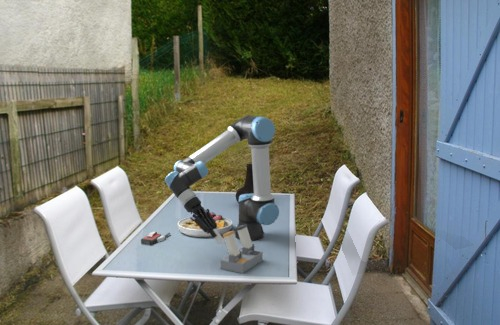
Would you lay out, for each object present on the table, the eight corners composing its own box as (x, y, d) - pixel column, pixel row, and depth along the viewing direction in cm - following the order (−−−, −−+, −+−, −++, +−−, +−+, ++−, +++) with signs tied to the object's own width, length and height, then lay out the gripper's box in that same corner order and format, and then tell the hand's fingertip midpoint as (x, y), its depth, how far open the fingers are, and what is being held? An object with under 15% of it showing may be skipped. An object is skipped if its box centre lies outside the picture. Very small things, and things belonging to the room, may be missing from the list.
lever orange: (230, 260, 231) (222, 234, 231) (236, 257, 236) (228, 231, 236) (235, 259, 230) (227, 233, 230) (241, 256, 234) (233, 230, 234)
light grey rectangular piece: (243, 253, 241) (235, 228, 242) (249, 249, 246) (241, 225, 246) (248, 252, 240) (241, 226, 240) (254, 248, 245) (246, 224, 245)
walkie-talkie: (154, 247, 264) (171, 235, 283) (154, 238, 263) (171, 227, 282) (139, 245, 266) (156, 234, 285) (138, 236, 266) (156, 226, 285)
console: (220, 268, 233) (220, 253, 232) (241, 256, 250) (241, 242, 249) (242, 273, 228) (242, 257, 227) (262, 260, 245) (262, 245, 244)
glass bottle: (232, 207, 347) (232, 165, 343) (240, 201, 364) (240, 161, 360) (258, 209, 342) (258, 166, 337) (265, 203, 359) (266, 162, 354)
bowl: (224, 241, 275) (224, 226, 273) (169, 237, 281) (169, 222, 279) (237, 225, 304) (237, 212, 303) (187, 222, 310) (187, 209, 308)
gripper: (193, 203, 247) (223, 243, 242) (176, 209, 236) (208, 251, 231) (202, 193, 244) (233, 233, 239) (186, 198, 233) (218, 241, 228)
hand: (221, 242), depth 235 cm, fingers closed
